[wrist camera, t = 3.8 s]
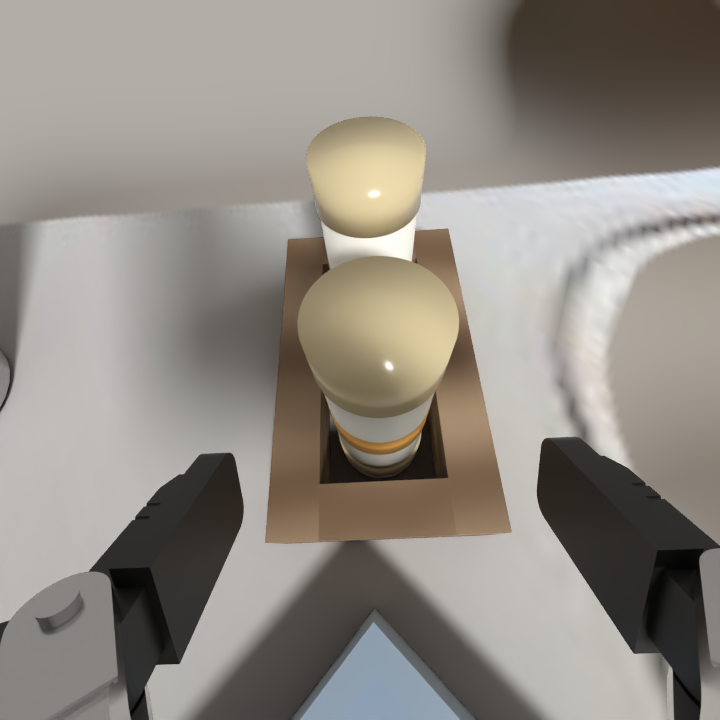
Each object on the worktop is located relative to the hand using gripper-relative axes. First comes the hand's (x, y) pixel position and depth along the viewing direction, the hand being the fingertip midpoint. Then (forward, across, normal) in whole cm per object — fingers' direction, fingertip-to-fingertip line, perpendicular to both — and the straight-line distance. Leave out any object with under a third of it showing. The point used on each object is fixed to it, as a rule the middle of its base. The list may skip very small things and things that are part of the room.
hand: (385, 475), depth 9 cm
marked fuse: (+10, 0, +4) cm, 11 cm away
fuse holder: (+12, 0, +2) cm, 12 cm away
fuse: (+15, 0, 0) cm, 15 cm away
